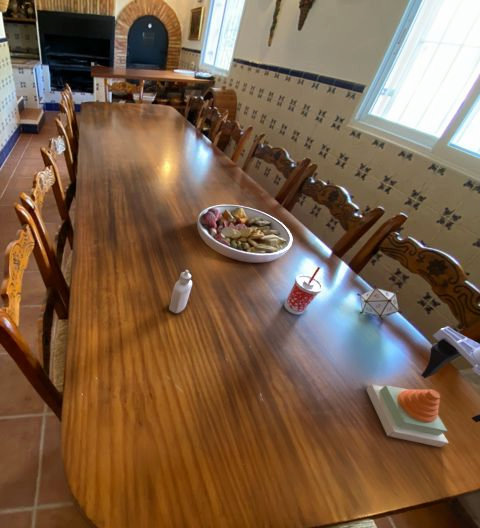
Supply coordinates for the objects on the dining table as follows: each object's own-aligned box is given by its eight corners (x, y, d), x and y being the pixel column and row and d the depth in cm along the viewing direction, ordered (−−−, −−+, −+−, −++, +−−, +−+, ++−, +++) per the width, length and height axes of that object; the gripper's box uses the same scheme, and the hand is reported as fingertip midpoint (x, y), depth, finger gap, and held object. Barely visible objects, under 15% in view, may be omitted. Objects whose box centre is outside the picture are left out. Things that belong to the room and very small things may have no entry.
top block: (439, 435, 53) (448, 431, 51) (397, 426, 53) (404, 422, 52) (417, 397, 58) (424, 392, 57) (379, 390, 59) (385, 385, 57)
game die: (353, 319, 81) (346, 285, 79) (385, 310, 80) (379, 276, 78) (378, 332, 72) (370, 294, 70) (415, 323, 71) (408, 284, 69)
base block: (440, 447, 53) (449, 443, 52) (387, 436, 54) (394, 431, 53) (412, 398, 60) (419, 393, 59) (365, 389, 61) (371, 384, 59)
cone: (441, 426, 52) (463, 413, 49) (406, 419, 52) (427, 406, 49) (422, 395, 56) (442, 382, 53) (391, 389, 57) (408, 375, 54)
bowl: (276, 223, 110) (285, 204, 105) (295, 275, 87) (307, 255, 82) (195, 211, 113) (200, 192, 108) (194, 258, 91) (199, 237, 86)
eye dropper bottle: (191, 309, 74) (202, 274, 67) (172, 315, 72) (181, 279, 65) (183, 297, 77) (192, 262, 70) (164, 302, 75) (171, 267, 68)
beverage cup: (294, 319, 74) (322, 278, 65) (276, 302, 78) (299, 262, 69) (311, 312, 76) (339, 272, 67) (292, 296, 80) (316, 256, 72)
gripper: (449, 315, 45) (392, 364, 53) (587, 407, 34) (488, 450, 43) (477, 305, 47) (417, 354, 56) (614, 390, 37) (515, 434, 45)
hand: (450, 395), depth 49 cm, fingers open, 7 cm apart
